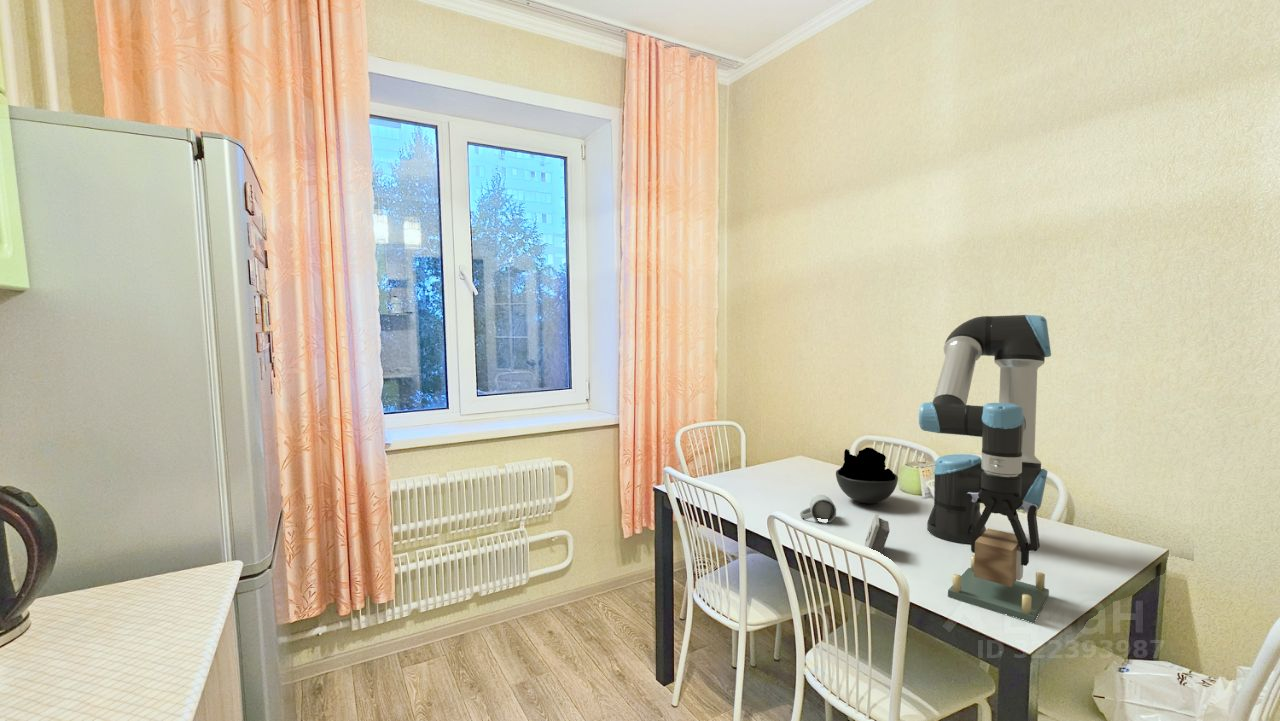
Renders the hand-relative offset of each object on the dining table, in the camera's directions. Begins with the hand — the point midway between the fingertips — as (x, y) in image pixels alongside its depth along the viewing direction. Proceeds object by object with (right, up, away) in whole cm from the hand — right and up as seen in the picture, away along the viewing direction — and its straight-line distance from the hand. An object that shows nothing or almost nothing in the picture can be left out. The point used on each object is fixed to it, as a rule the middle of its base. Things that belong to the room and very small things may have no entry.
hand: (998, 572), depth 121 cm
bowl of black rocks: (-2, -2, +66) cm, 66 cm away
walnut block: (0, 0, 0) cm, 0 cm away
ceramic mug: (-24, -3, +51) cm, 56 cm away
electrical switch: (-16, -5, +26) cm, 31 cm away
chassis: (0, -6, 0) cm, 6 cm away
